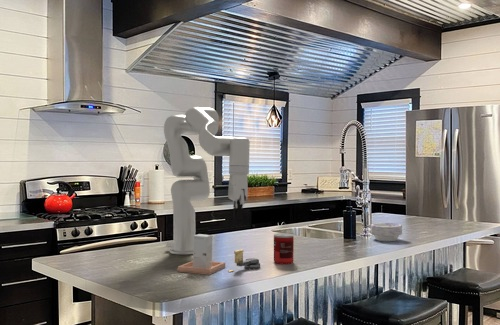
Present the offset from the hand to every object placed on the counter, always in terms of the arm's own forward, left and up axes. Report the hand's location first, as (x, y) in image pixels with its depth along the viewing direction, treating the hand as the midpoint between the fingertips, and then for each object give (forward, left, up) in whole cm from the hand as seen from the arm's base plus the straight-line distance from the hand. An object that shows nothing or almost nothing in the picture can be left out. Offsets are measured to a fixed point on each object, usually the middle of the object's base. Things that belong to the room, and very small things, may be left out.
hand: (237, 218), depth 191 cm
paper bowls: (+43, +85, -19) cm, 97 cm away
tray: (-11, -9, -18) cm, 23 cm away
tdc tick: (+1, -8, -18) cm, 20 cm away
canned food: (+13, +14, -19) cm, 27 cm away
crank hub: (+5, +1, -18) cm, 19 cm away
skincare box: (-10, -9, -18) cm, 23 cm away
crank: (+4, -2, -17) cm, 17 cm away
